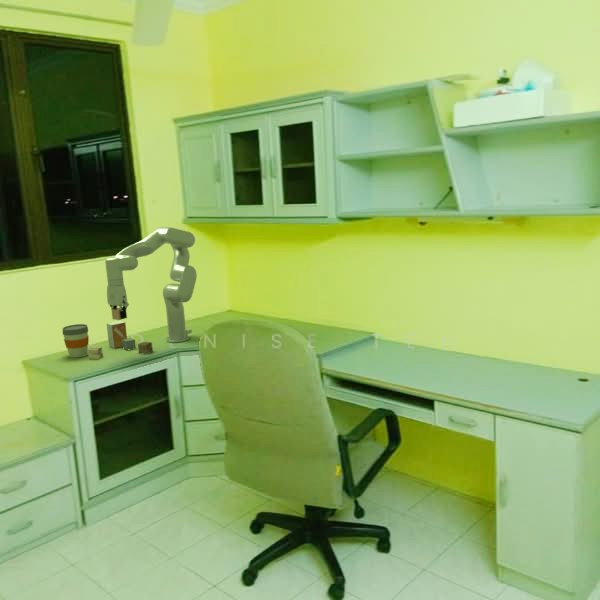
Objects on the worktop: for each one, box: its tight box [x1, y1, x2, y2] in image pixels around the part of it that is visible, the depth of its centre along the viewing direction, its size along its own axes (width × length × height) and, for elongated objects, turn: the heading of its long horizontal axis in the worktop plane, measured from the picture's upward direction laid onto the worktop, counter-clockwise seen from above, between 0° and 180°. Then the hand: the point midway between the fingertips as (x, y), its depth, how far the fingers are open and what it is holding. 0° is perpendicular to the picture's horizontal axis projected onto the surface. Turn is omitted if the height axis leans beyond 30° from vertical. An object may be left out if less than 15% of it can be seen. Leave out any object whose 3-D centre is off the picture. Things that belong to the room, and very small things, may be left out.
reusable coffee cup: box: [62, 323, 90, 358], centre depth 310 cm, size 13×12×15 cm
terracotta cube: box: [111, 306, 128, 321], centre depth 301 cm, size 5×5×5 cm
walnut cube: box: [137, 341, 153, 355], centre depth 310 cm, size 5×5×5 cm
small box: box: [106, 320, 128, 349], centre depth 324 cm, size 8×6×13 cm
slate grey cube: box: [122, 337, 137, 351], centre depth 318 cm, size 5×5×5 cm
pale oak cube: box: [87, 346, 104, 360], centre depth 305 cm, size 5×5×5 cm
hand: (119, 317), depth 301 cm, fingers closed on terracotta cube, 5 cm apart
